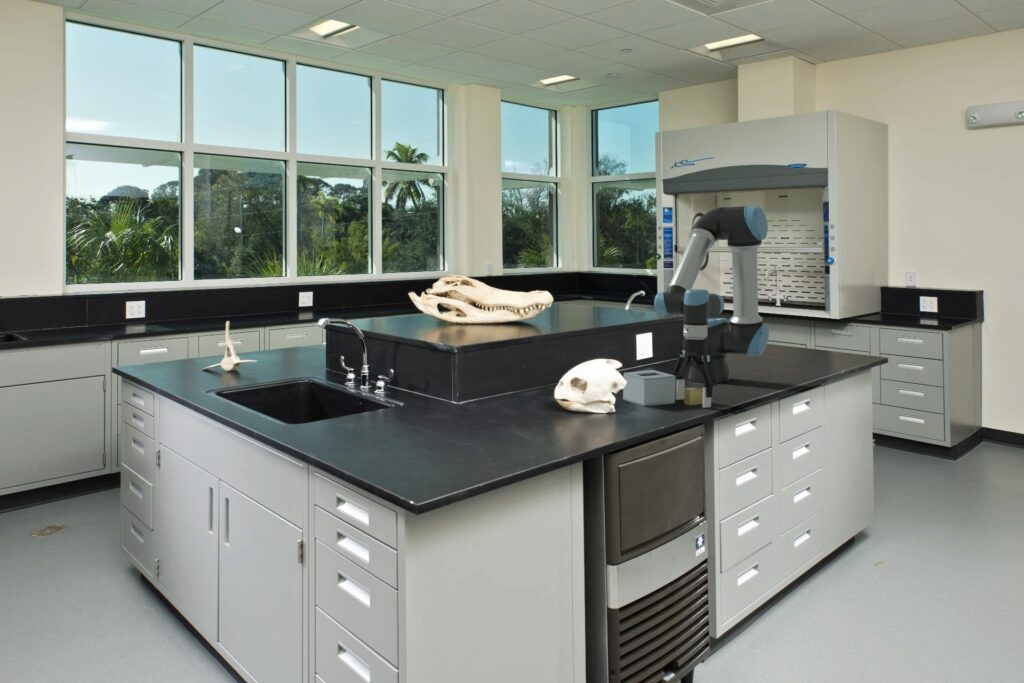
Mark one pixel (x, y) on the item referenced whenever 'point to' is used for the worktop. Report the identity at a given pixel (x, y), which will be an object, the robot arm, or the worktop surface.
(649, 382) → the grey square hollow box
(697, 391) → the block
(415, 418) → the worktop surface
